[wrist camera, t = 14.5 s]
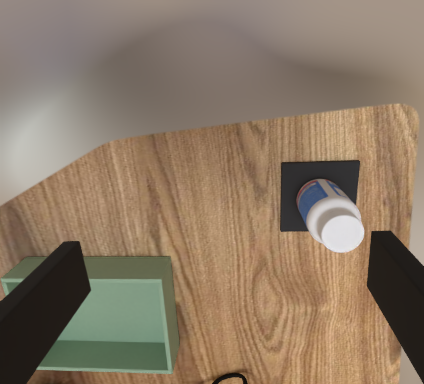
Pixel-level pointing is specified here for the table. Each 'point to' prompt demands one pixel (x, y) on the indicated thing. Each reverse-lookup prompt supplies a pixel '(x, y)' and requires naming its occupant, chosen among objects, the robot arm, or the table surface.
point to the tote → (116, 317)
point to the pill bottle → (330, 215)
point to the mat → (307, 171)
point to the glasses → (230, 377)
